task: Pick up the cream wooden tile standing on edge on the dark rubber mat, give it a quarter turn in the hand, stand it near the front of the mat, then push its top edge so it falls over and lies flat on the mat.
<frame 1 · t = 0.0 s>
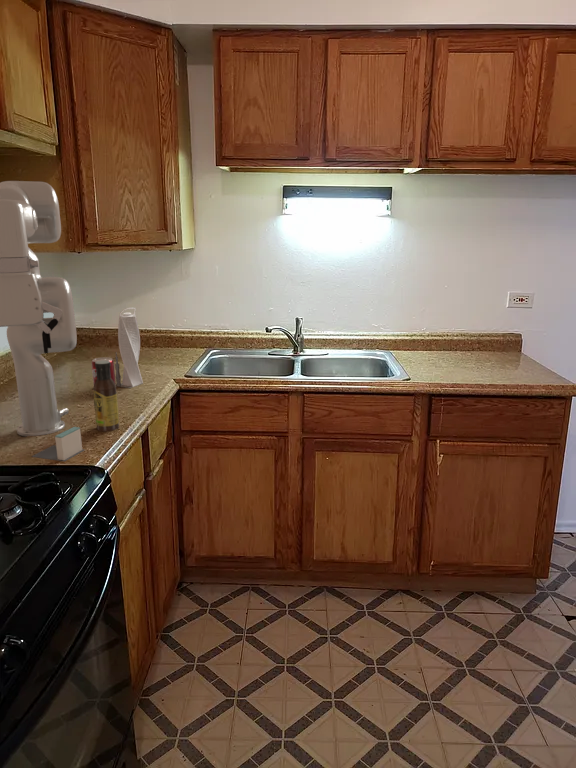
hand: (20, 353, 115), 31 cm above the worktop, tool pointing down, fingers open, 9 cm apart
skyscraper: (131, 385, 211), on the worktop
sauce bottle: (108, 430, 164), on the worktop
cream tile: (70, 454, 145), point 1 cm above the worktop, touching rubber mat
rubber mat: (59, 455, 146), on the worktop
soda can: (105, 394, 199), on the worktop
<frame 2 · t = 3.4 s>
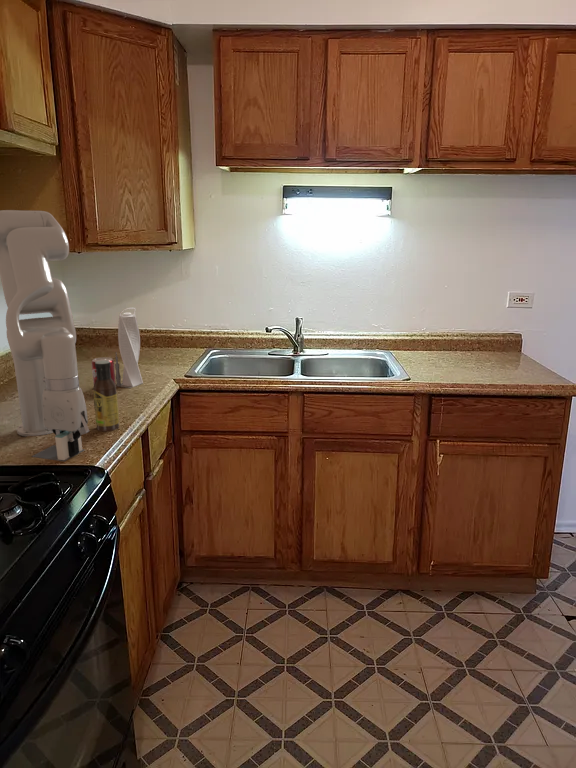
hand: (70, 453, 145), 1 cm above the worktop, tool pointing down, fingers closed on cream tile, 1 cm apart
cream tile: (70, 454, 145), point 1 cm above the worktop, touching gripper, rubber mat
everything else where it was.
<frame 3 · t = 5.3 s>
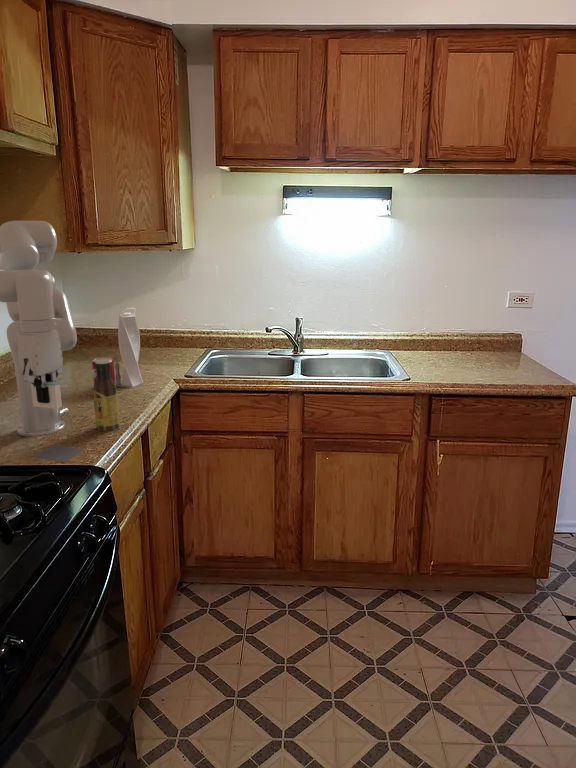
hand: (47, 400, 140), 15 cm above the worktop, tool pointing down, fingers closed on cream tile, 1 cm apart
cream tile: (47, 406, 141), point 13 cm above the worktop, touching gripper
everything else where it was.
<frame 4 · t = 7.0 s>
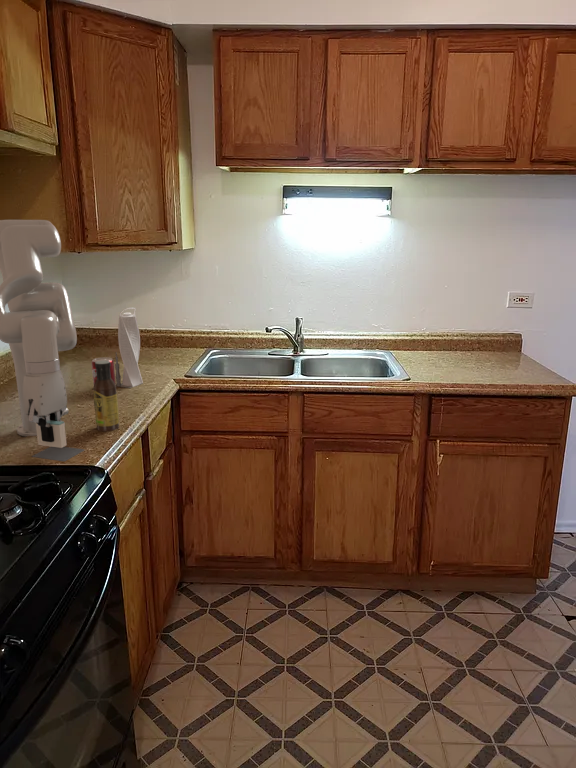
hand: (51, 439, 142), 5 cm above the worktop, tool pointing down, fingers closed on cream tile
cream tile: (52, 445, 143), point 4 cm above the worktop, touching gripper
everything else where it was.
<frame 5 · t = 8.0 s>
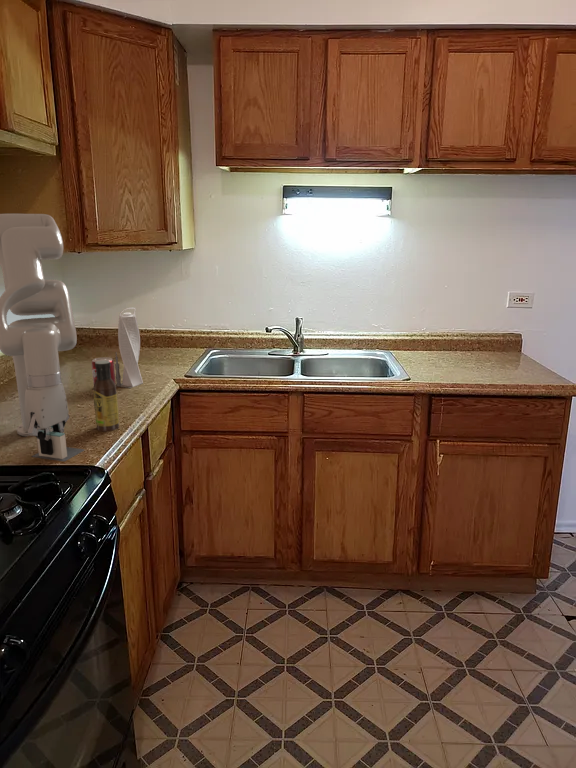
hand: (52, 450, 144), 2 cm above the worktop, tool pointing down, fingers open, 3 cm apart
cream tile: (53, 455, 144), point 1 cm above the worktop, touching rubber mat
everything else where it was.
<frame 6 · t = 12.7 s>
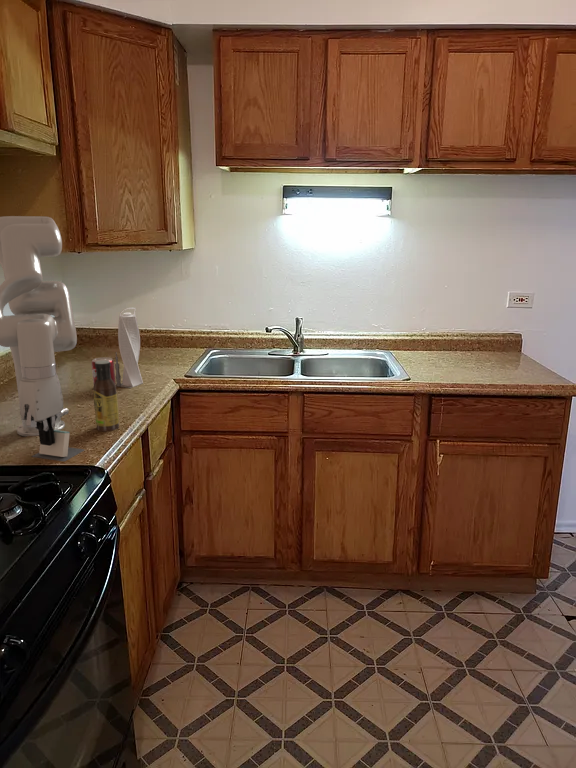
hand: (47, 443, 142), 4 cm above the worktop, tool pointing down, fingers closed
cream tile: (53, 454, 144), point 1 cm above the worktop, tilted 17°, touching rubber mat
everything else where it was.
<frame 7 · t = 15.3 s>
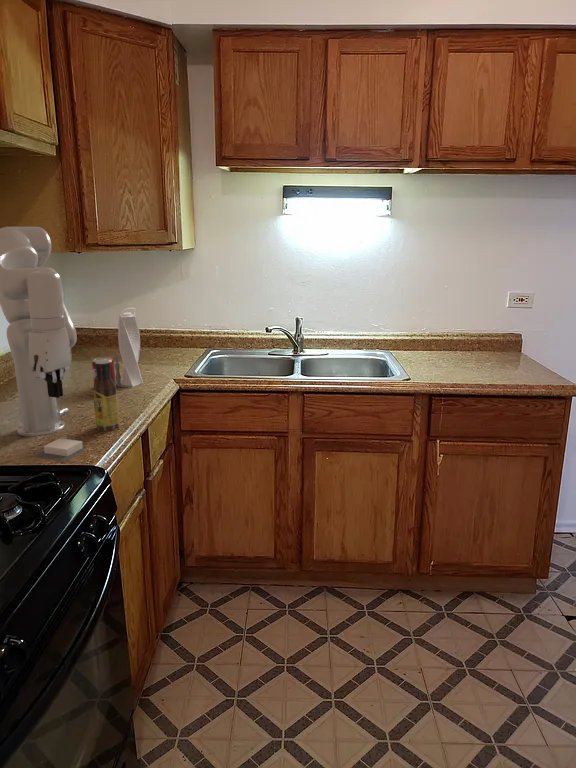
hand: (55, 396, 144), 15 cm above the worktop, tool pointing down, fingers closed
cream tile: (55, 451, 144), point 1 cm above the worktop, tilted 90°, touching rubber mat
everything else where it was.
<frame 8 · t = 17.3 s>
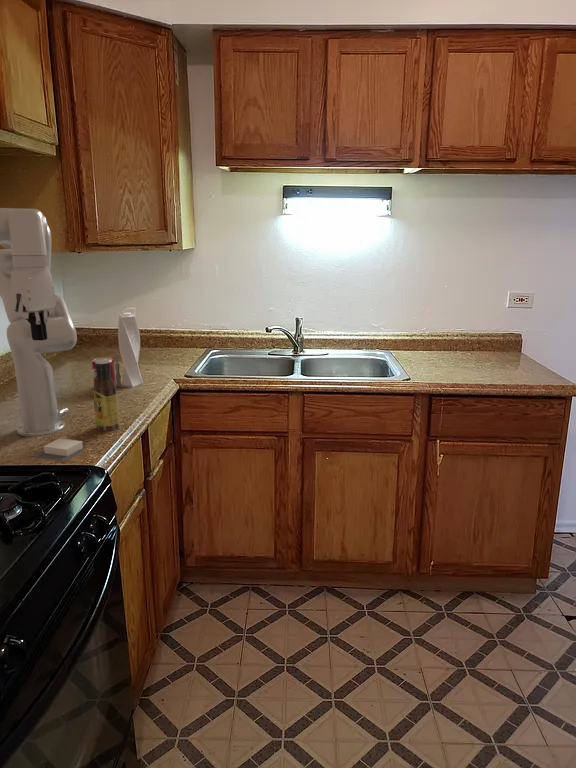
hand: (39, 339, 141), 29 cm above the worktop, tool pointing down, fingers closed
nothing on the worktop moved.
at the end: cream tile tilted 90°; cream tile inside the target area on the rubber mat (1.1 cm from its centre), point 1.5 cm above the rubber mat's base; cream tile point 1.5 cm above the worktop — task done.
